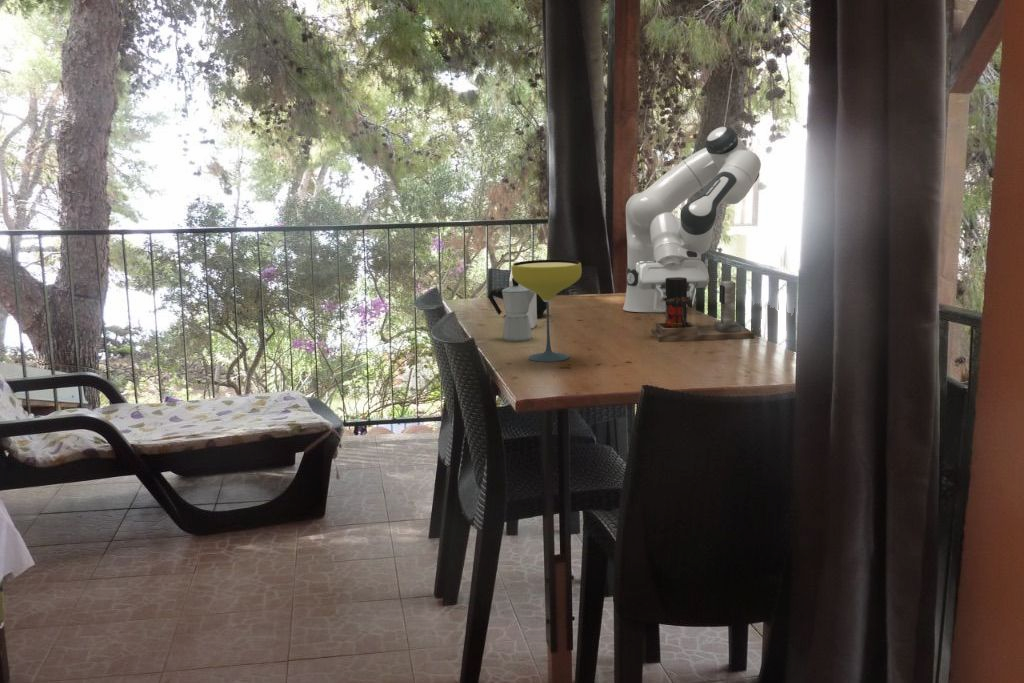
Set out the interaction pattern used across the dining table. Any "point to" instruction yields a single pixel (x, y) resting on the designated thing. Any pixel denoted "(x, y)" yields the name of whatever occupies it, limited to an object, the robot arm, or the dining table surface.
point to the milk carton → (532, 306)
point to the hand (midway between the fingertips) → (676, 298)
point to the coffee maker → (514, 311)
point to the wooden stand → (721, 330)
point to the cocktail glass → (547, 289)
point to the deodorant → (676, 302)
